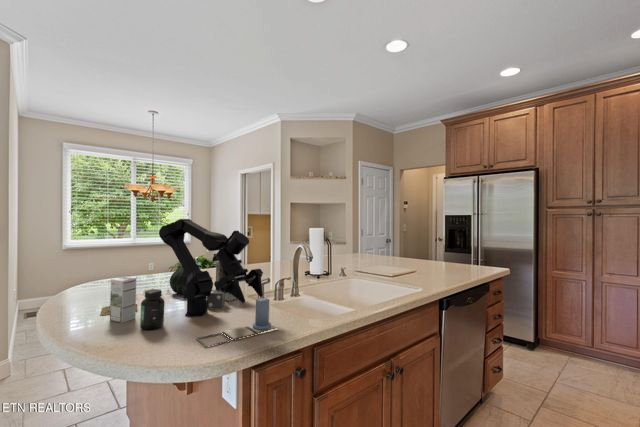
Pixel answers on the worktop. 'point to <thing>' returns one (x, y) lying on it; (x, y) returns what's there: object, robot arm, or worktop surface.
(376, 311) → the worktop surface
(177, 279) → the squash
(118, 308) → the syrup box
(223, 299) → the die
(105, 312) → the cookie
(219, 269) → the coffee box
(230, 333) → the game board
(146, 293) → the supplement bottle
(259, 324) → the blue flanged cylinder
